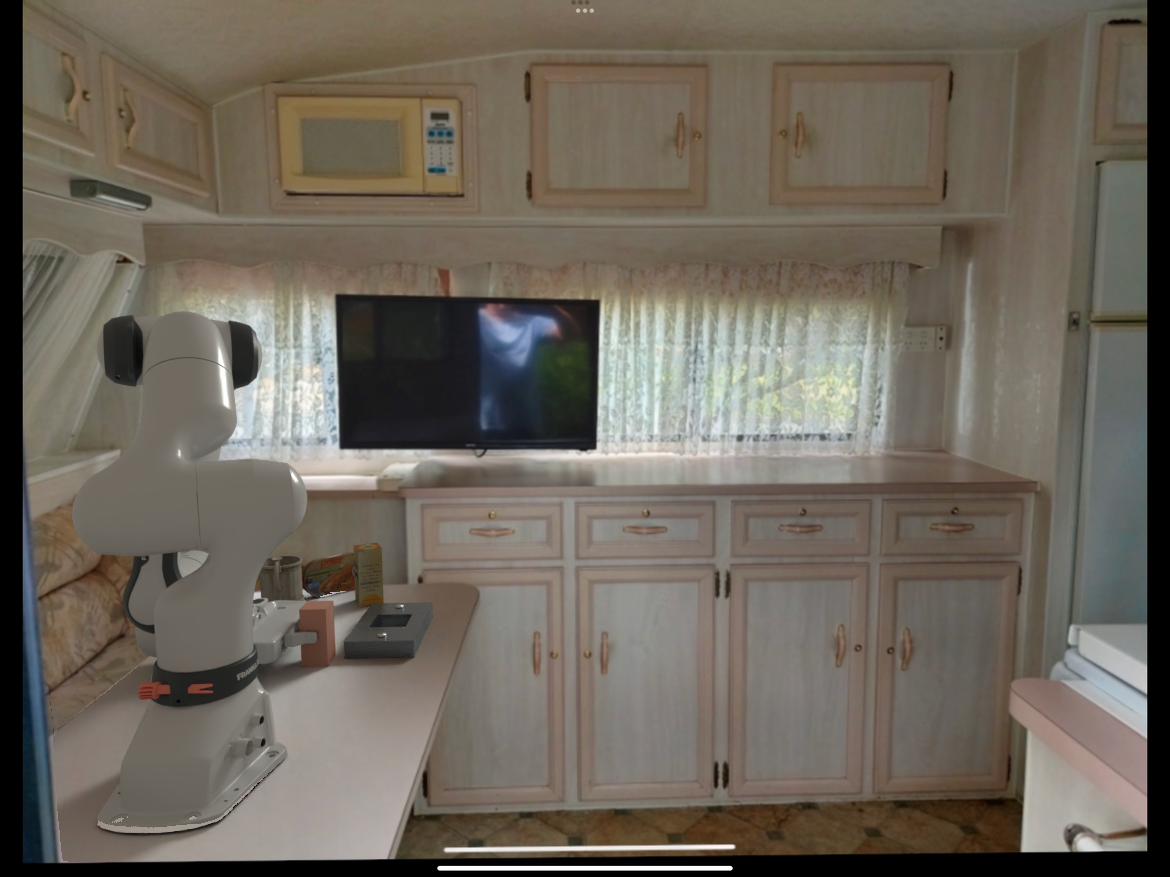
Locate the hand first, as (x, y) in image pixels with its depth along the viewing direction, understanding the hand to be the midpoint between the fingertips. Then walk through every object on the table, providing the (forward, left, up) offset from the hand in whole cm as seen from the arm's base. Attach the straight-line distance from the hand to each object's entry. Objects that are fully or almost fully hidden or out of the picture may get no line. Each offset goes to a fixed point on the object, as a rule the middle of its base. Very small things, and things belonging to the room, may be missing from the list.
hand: (322, 630), depth 127 cm
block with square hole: (+11, -9, -6) cm, 15 cm away
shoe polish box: (+31, 0, -6) cm, 32 cm away
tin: (+38, +9, -6) cm, 39 cm away
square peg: (0, +1, -6) cm, 6 cm away
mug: (+27, +17, -6) cm, 32 cm away
